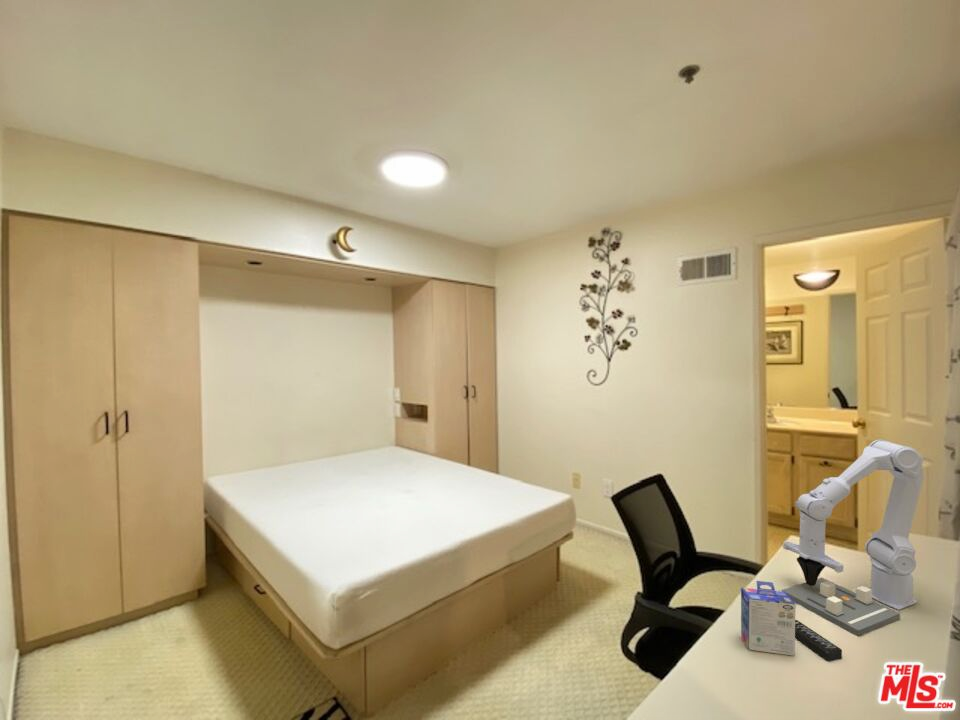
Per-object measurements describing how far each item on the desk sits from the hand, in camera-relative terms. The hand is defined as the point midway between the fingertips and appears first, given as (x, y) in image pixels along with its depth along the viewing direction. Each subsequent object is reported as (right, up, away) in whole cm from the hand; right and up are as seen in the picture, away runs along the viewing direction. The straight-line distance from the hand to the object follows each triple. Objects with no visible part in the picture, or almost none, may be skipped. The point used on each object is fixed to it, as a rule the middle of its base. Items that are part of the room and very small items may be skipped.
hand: (810, 584), depth 119 cm
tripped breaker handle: (+2, -1, -4) cm, 4 cm away
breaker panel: (+2, -3, -6) cm, 7 cm away
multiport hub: (-16, -4, -20) cm, 26 cm away
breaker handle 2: (+9, -1, -6) cm, 11 cm away
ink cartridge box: (-27, -3, -21) cm, 35 cm away
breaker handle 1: (-3, -1, -11) cm, 11 cm away
